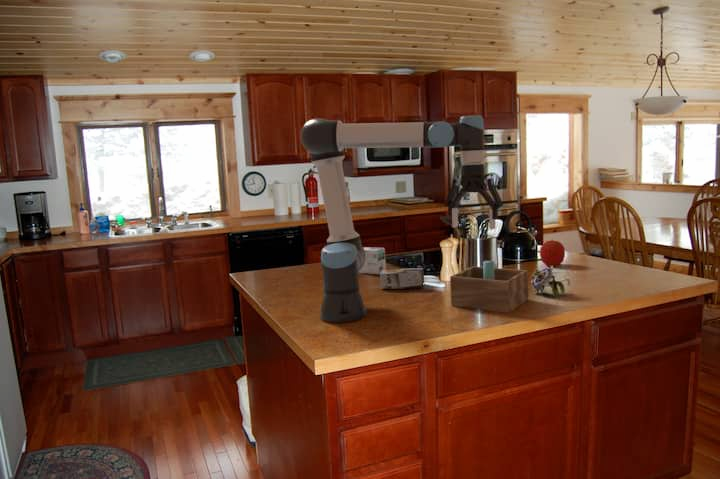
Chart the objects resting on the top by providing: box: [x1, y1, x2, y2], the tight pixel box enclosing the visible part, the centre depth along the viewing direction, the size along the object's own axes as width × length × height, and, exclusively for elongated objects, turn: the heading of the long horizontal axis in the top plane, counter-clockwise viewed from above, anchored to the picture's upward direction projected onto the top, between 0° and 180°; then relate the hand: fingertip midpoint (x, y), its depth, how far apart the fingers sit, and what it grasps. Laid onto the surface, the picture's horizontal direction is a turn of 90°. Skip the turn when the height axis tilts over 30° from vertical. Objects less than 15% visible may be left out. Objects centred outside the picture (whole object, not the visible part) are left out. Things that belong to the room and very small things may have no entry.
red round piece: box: [539, 239, 566, 268], centre depth 235 cm, size 10×10×12 cm
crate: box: [449, 265, 529, 314], centre depth 186 cm, size 17×20×10 cm
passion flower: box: [530, 266, 571, 299], centre depth 192 cm, size 11×11×12 cm
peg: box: [482, 260, 495, 280], centre depth 186 cm, size 4×4×14 cm
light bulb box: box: [358, 246, 387, 275], centre depth 245 cm, size 11×7×11 cm, turn 58°
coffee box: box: [379, 267, 425, 290], centre depth 216 cm, size 9×6×16 cm
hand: (473, 228), depth 185 cm, fingers open, 13 cm apart
